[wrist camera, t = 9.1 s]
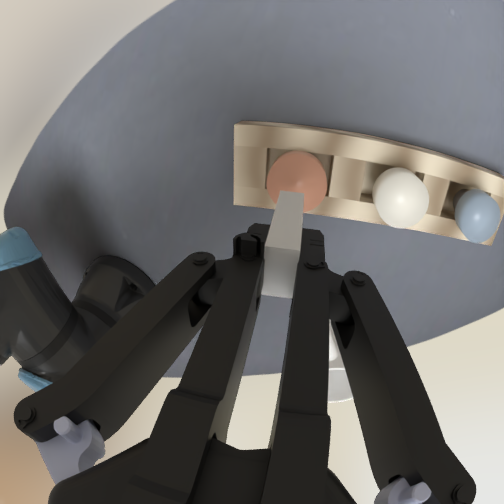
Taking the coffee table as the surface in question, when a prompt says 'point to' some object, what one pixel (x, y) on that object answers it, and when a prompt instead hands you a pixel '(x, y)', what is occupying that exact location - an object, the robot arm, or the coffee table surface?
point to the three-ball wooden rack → (357, 172)
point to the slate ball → (476, 214)
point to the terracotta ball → (298, 178)
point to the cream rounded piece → (400, 197)
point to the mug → (337, 373)
